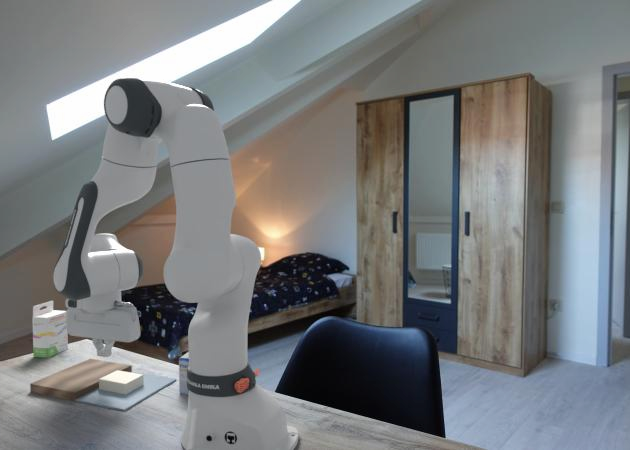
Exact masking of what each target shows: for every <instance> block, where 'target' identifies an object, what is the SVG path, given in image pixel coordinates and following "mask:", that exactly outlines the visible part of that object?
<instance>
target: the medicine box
mask: <svg viewBox="0 0 630 450" xmlns="http://www.w3.org/2000/svg"><path fill="white" fill-rule="evenodd" d="M188 366H189V351H187V352H186V353H184V354H183V355H182V356H181V357H179V358H178V375H179V377H178V378H179V379H178V380H179V383H178V386H179V387H178V388H179V390H178V391H179V392H178V393H179V394H184V395H189V392H188V388H187V367H188Z"/></svg>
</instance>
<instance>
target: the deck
mask: <svg viewBox="0 0 630 450" xmlns="http://www.w3.org/2000/svg"><path fill="white" fill-rule="evenodd" d="M132 367H133V365H131V364H125V363H119V362H114V361H113V362H112V361H106V360H102V359H100V360H99V359H94V358H89V359H86V360H84V361H82V362H79V363H77V364H75V365H72V366H69V367H68V368H67V367H66V368H65V369H62V370H60V371H57V372H55V373H53V374H50V375H47V376H45V377H43V378H40V379H38V380H35V381H33V382H31V383H29V384H30V385H29V387H30V393H35V394H40V395H44V396H49V397H53V398H59V399H63V400H68V401H73V402H76V401H75V399H77V398H79V397H81V396H83V395H85V394H87V393H89V392H91V391H93V390H95V389H97V388H99V379H100V378H102V377H104V376H106V375H108V374H111V373H113V372H115V371H117V370H119V371H125V372H131V371H133V368H132Z"/></svg>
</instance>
